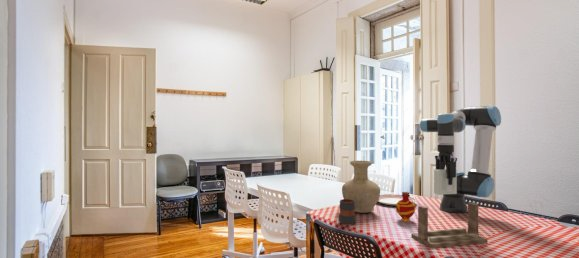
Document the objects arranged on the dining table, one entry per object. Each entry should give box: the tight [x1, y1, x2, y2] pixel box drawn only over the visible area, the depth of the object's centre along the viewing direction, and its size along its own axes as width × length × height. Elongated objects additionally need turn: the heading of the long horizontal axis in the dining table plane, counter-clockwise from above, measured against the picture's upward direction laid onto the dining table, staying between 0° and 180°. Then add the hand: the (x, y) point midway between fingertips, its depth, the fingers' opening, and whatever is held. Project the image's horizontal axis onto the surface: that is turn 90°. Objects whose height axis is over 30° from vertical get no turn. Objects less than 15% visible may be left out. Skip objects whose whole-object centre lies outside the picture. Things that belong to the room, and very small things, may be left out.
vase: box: [341, 160, 381, 214], centre depth 194 cm, size 22×22×30 cm
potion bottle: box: [395, 191, 417, 222], centre depth 176 cm, size 10×10×15 cm
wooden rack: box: [411, 202, 488, 249], centre depth 145 cm, size 28×14×16 cm, turn 103°
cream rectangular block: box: [433, 168, 458, 196], centre depth 164 cm, size 10×4×12 cm, turn 103°
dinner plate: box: [377, 193, 417, 207], centre depth 217 cm, size 28×27×3 cm
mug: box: [338, 198, 356, 226], centre depth 173 cm, size 9×12×12 cm
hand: (445, 190), depth 164 cm, fingers closed on cream rectangular block, 4 cm apart
